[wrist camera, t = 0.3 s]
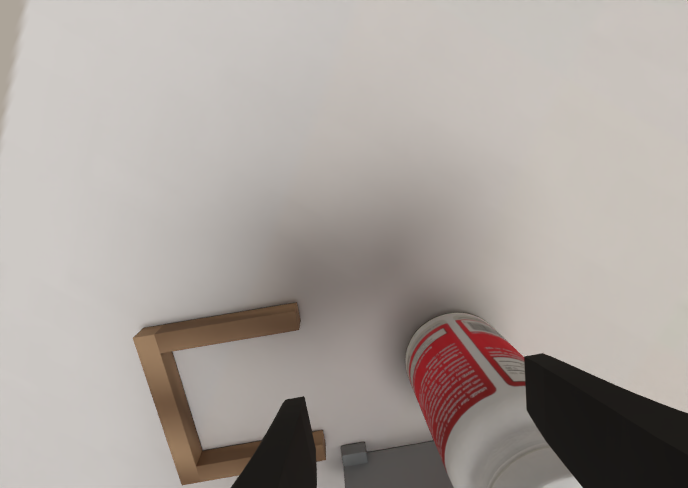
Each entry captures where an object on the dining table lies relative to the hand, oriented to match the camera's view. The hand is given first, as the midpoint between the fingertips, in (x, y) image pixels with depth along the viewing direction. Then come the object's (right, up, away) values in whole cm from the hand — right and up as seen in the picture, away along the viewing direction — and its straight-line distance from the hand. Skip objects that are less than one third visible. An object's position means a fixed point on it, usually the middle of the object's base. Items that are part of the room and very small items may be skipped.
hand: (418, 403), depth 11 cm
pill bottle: (+4, -2, +11) cm, 12 cm away
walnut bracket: (-8, -4, +11) cm, 14 cm away
